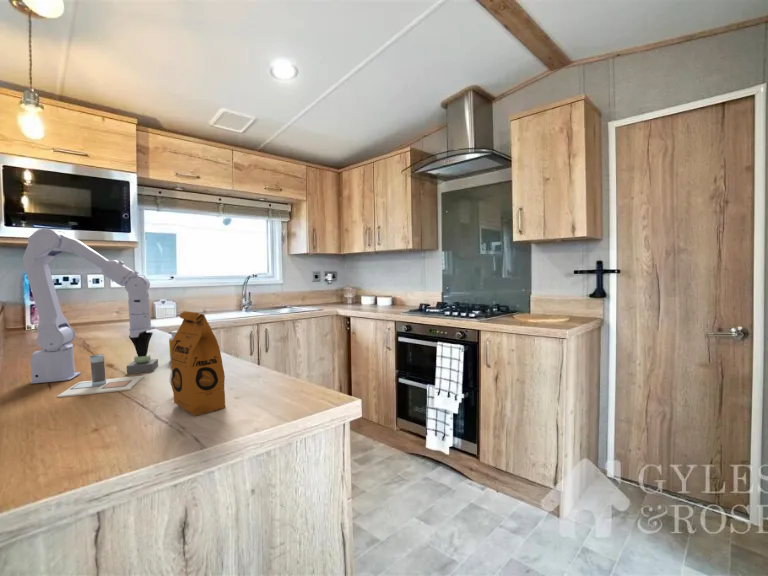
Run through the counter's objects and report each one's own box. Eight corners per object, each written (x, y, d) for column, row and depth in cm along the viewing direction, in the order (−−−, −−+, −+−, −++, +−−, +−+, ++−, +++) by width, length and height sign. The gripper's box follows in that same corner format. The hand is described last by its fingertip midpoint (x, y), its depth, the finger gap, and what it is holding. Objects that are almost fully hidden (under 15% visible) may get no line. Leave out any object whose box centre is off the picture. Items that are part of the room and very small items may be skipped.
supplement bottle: (171, 362, 133) (169, 333, 132) (169, 359, 138) (167, 331, 137) (189, 360, 136) (187, 331, 136) (187, 357, 141) (185, 329, 140)
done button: (133, 371, 122) (132, 358, 121) (137, 367, 126) (136, 355, 126) (149, 369, 123) (148, 356, 123) (152, 366, 127) (151, 353, 127)
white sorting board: (57, 397, 99) (57, 395, 99) (79, 383, 111) (79, 381, 111) (129, 390, 104) (129, 388, 104) (143, 376, 116) (143, 375, 116)
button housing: (127, 373, 120) (126, 366, 120) (134, 368, 127) (133, 361, 127) (152, 371, 122) (152, 363, 122) (158, 366, 129) (157, 358, 129)
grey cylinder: (90, 386, 106) (88, 357, 106) (94, 383, 109) (92, 355, 109) (103, 384, 107) (101, 356, 107) (107, 381, 110) (105, 353, 110)
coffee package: (185, 420, 82) (179, 316, 80) (168, 406, 91) (163, 312, 90) (232, 408, 89) (227, 311, 87) (212, 395, 98) (208, 308, 96)
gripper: (147, 315, 118) (150, 360, 118) (159, 310, 131) (162, 350, 132) (120, 317, 116) (123, 362, 116) (135, 311, 129) (138, 352, 130)
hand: (142, 356), depth 124 cm, fingers closed, pressing on done button
